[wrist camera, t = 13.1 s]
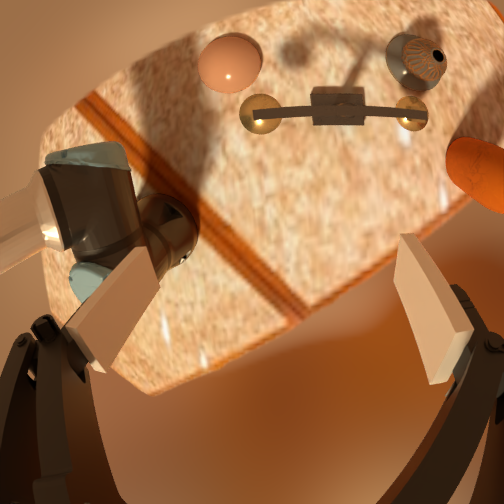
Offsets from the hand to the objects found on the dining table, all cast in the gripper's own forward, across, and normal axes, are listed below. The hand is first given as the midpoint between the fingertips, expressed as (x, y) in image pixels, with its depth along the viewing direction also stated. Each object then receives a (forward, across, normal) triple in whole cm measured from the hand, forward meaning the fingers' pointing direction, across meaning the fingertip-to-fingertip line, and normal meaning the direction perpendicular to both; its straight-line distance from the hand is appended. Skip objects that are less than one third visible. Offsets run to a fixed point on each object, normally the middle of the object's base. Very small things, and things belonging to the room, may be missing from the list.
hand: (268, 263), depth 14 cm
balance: (+34, +8, +7) cm, 35 cm away
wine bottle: (+34, +32, -1) cm, 46 cm away
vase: (+33, +22, +15) cm, 42 cm away
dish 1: (+34, -8, +16) cm, 38 cm away
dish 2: (+34, +22, +15) cm, 43 cm away
